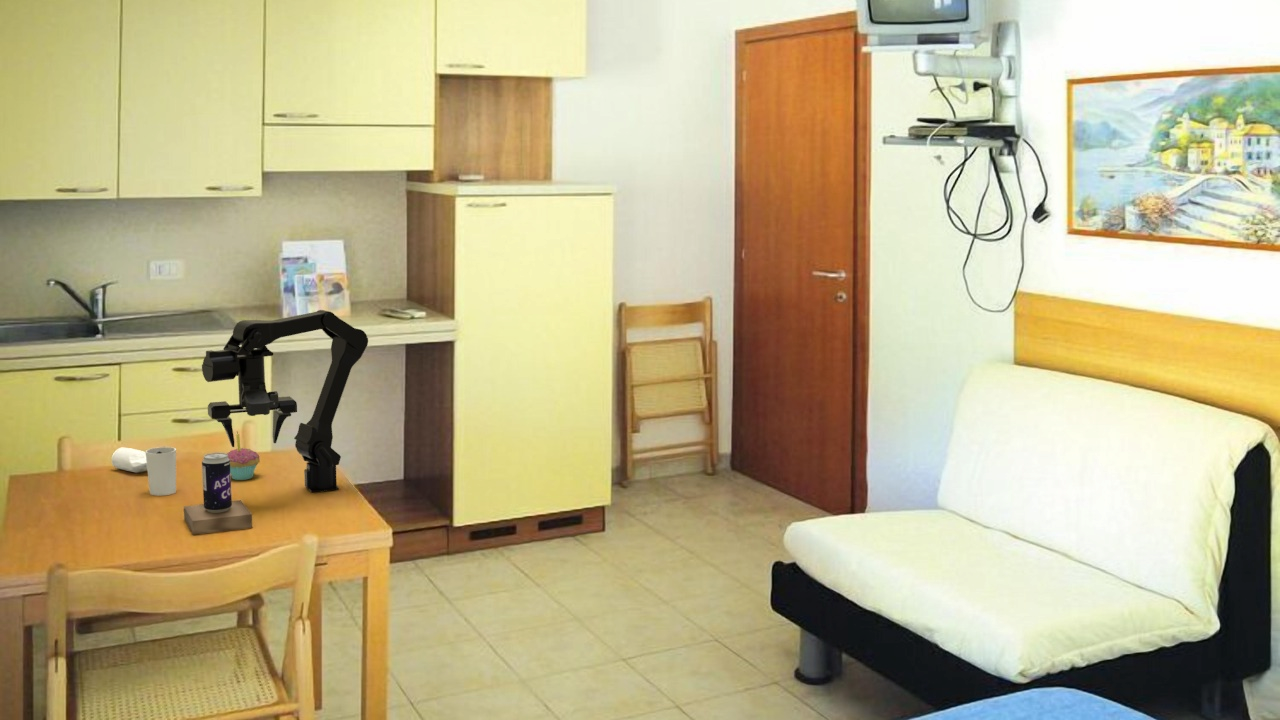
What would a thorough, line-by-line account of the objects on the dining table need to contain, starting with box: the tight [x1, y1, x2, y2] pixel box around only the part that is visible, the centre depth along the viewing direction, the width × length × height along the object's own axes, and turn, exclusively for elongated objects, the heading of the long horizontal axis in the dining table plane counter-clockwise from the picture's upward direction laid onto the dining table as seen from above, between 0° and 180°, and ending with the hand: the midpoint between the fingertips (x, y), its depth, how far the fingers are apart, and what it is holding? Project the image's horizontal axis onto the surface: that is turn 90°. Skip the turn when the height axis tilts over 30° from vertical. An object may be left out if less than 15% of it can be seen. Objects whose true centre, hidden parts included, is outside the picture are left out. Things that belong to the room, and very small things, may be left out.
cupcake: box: [226, 430, 261, 481], centre depth 320 cm, size 9×8×12 cm
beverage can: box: [201, 452, 233, 513], centre depth 282 cm, size 6×6×12 cm
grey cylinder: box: [145, 446, 177, 497], centre depth 306 cm, size 7×7×10 cm
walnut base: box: [183, 500, 253, 536], centre depth 283 cm, size 12×12×3 cm
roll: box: [110, 446, 147, 474], centre depth 324 cm, size 6×12×6 cm, turn 54°
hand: (254, 444), depth 299 cm, fingers open, 9 cm apart
